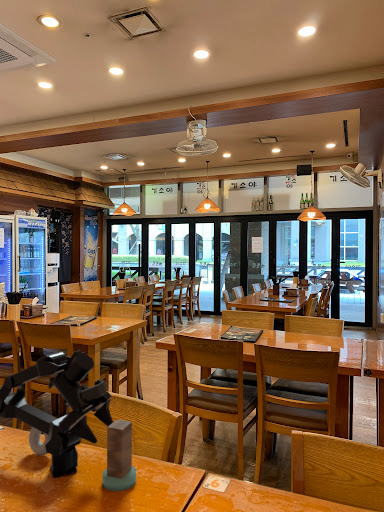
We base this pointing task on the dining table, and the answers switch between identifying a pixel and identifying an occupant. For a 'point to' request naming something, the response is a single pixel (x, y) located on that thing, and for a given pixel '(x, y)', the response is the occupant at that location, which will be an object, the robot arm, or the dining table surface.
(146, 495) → the dining table surface
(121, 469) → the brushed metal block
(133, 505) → the dining table surface
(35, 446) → the donut
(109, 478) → the teal base
